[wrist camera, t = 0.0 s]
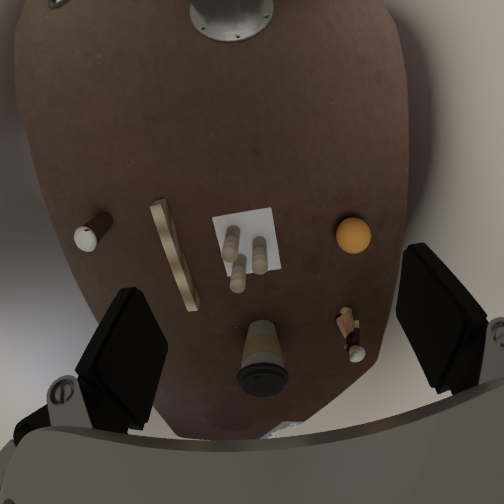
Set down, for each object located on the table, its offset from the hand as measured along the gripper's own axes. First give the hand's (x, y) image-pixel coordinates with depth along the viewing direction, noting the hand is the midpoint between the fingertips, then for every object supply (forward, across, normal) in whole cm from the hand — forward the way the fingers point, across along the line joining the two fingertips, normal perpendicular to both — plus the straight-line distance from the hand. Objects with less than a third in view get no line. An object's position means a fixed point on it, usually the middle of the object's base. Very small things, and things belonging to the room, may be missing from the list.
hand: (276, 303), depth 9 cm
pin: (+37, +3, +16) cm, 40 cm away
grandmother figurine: (+37, -12, +37) cm, 54 cm away
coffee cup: (+37, +6, +37) cm, 53 cm away
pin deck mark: (+37, +5, +16) cm, 40 cm away
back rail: (+37, +18, +16) cm, 44 cm away
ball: (+34, -13, +16) cm, 40 cm away
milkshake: (+37, +30, +6) cm, 48 cm away
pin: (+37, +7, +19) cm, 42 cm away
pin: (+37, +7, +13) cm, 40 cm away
